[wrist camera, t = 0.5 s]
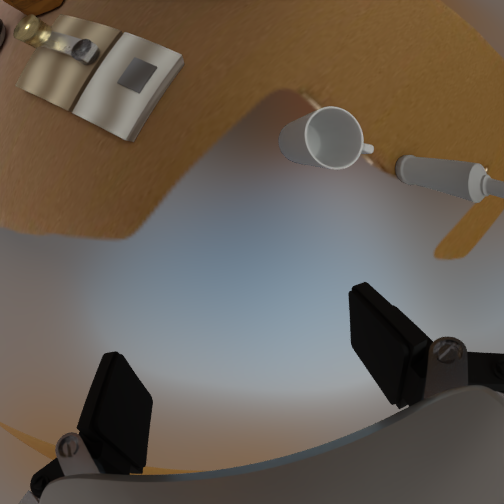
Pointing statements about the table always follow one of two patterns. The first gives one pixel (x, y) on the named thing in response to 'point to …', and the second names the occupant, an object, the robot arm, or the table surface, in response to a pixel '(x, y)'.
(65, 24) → the stone-look twin blocks
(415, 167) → the bottle
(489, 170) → the table surface
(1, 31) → the pump dispenser
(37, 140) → the table surface
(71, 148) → the table surface
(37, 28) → the bar
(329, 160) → the mug
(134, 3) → the table surface
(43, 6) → the coffee package
